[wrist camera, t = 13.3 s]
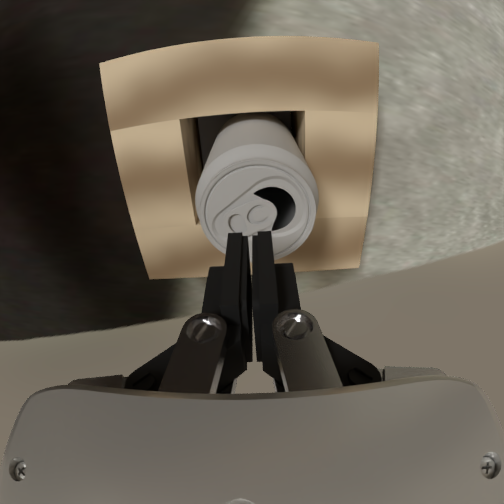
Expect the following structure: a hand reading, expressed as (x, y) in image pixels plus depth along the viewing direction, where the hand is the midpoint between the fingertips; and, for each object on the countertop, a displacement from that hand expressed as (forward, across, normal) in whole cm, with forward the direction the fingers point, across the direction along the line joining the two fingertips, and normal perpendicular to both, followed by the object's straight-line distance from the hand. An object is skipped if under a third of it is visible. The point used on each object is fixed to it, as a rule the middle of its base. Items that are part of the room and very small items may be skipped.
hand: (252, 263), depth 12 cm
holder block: (+17, 0, 0) cm, 17 cm away
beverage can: (+15, 0, 0) cm, 15 cm away
